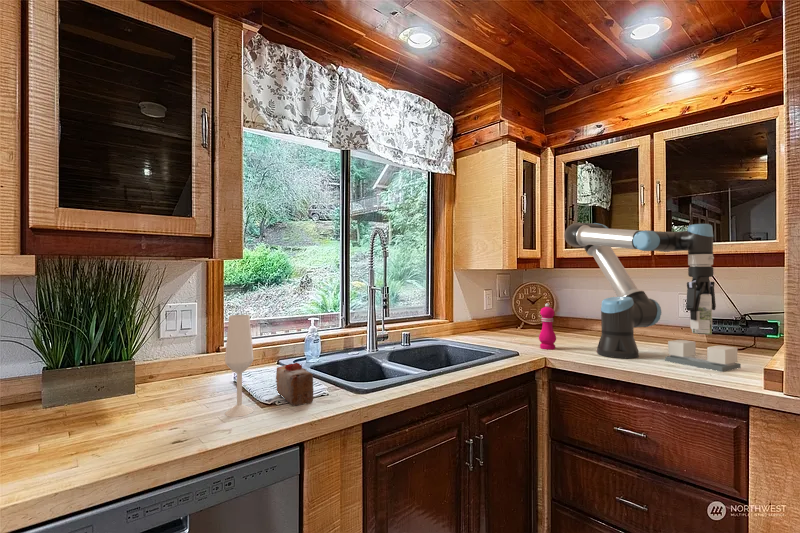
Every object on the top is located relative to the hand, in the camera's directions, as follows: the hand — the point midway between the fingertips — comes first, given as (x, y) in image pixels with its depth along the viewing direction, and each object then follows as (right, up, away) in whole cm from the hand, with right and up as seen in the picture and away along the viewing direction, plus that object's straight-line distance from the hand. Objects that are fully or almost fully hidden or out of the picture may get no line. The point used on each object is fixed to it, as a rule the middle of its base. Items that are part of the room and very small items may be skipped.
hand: (701, 328), depth 151 cm
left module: (-3, -11, +6) cm, 13 cm away
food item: (-140, -14, -38) cm, 146 cm away
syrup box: (0, -2, 0) cm, 2 cm away
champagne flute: (-151, -14, -49) cm, 159 cm away
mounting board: (0, -13, 0) cm, 13 cm away
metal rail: (0, -12, 0) cm, 12 cm away
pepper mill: (-46, -14, +31) cm, 57 cm away
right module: (+3, -11, -6) cm, 13 cm away
